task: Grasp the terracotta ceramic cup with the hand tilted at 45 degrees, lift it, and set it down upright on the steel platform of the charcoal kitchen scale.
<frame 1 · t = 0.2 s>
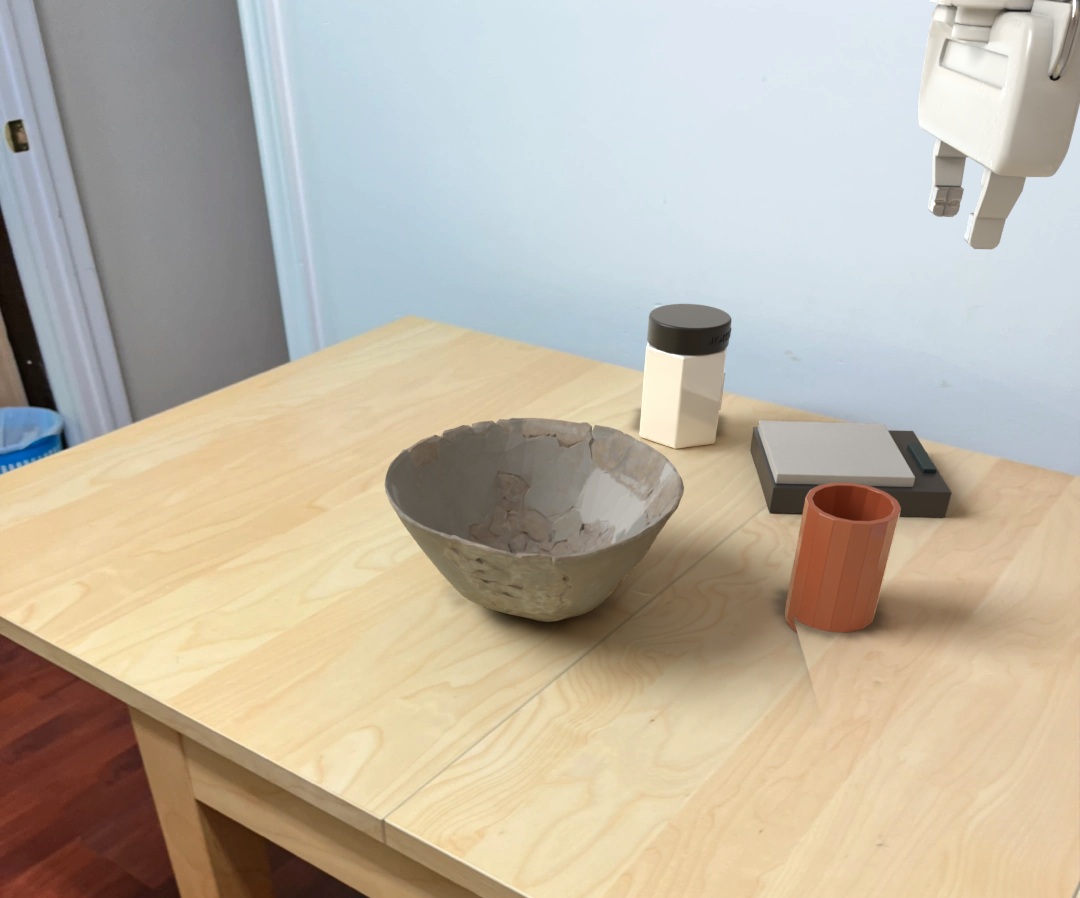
hand: (959, 230, 69), 27 cm above the table, tool pointing down, fingers open, 8 cm apart
kitchen scale: (842, 482, 100), on the table
ceramic bowl: (533, 593, 84), on the table
jar: (678, 434, 109), on the table
cup: (827, 620, 81), on the table
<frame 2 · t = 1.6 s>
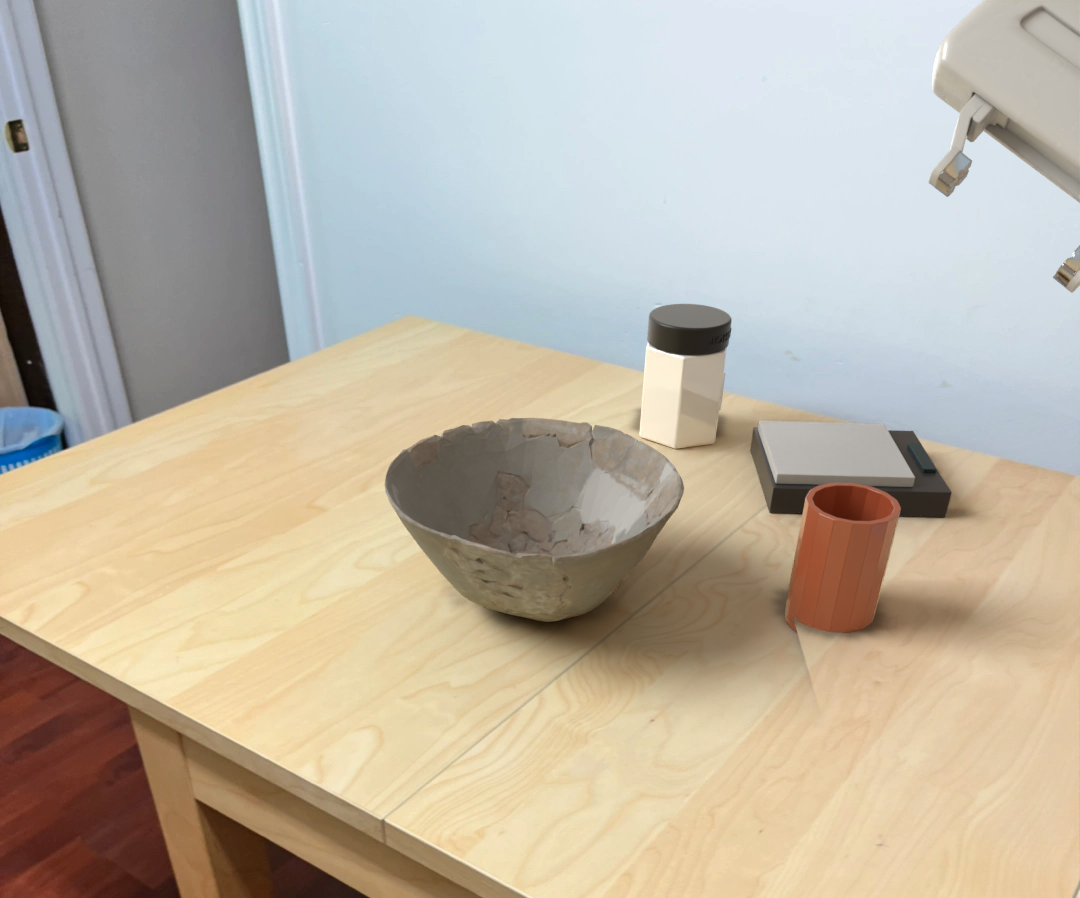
hand: (1000, 233, 61), 29 cm above the table, tool tilted 50°, fingers open, 8 cm apart
nothing on the table moved.
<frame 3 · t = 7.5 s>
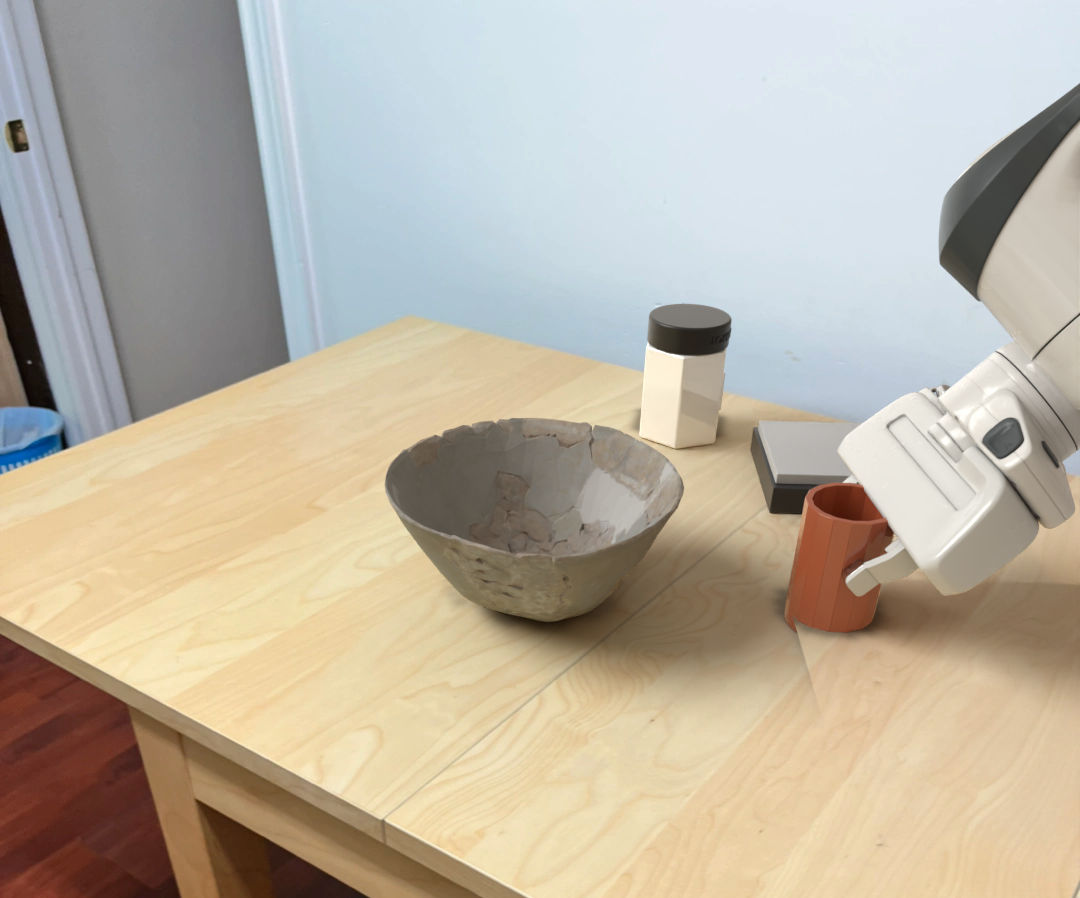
hand: (832, 559, 77), 5 cm above the table, tool tilted 45°, fingers closed on cup, 7 cm apart
cup: (827, 620, 81), on the table, touching gripper
everything else where it was.
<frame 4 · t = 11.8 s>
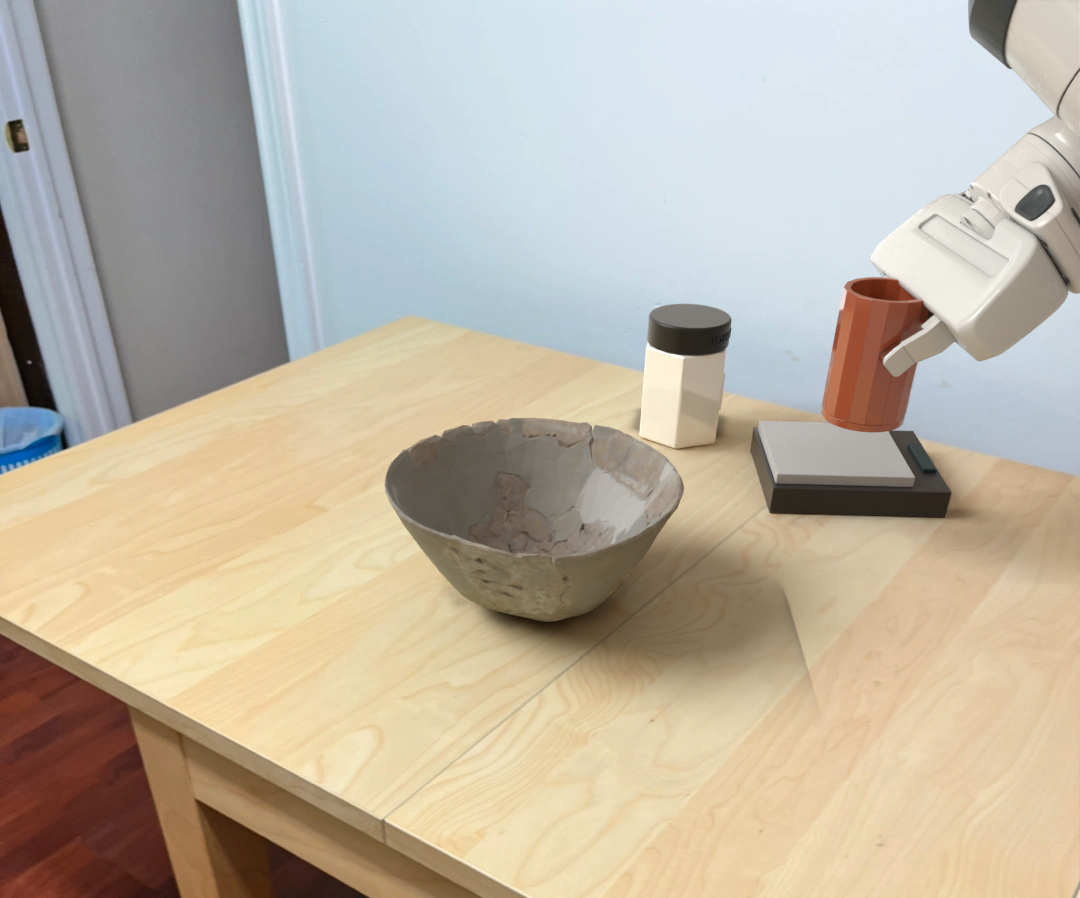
hand: (868, 350, 82), 16 cm above the table, tool tilted 45°, fingers closed on cup, 7 cm apart
cup: (862, 416, 85), point 11 cm above the table, touching gripper
everything else where it was.
when the fingers open (9 cm above the table, at t = 15.9 s): cup stays where it is, resting on kitchen scale.
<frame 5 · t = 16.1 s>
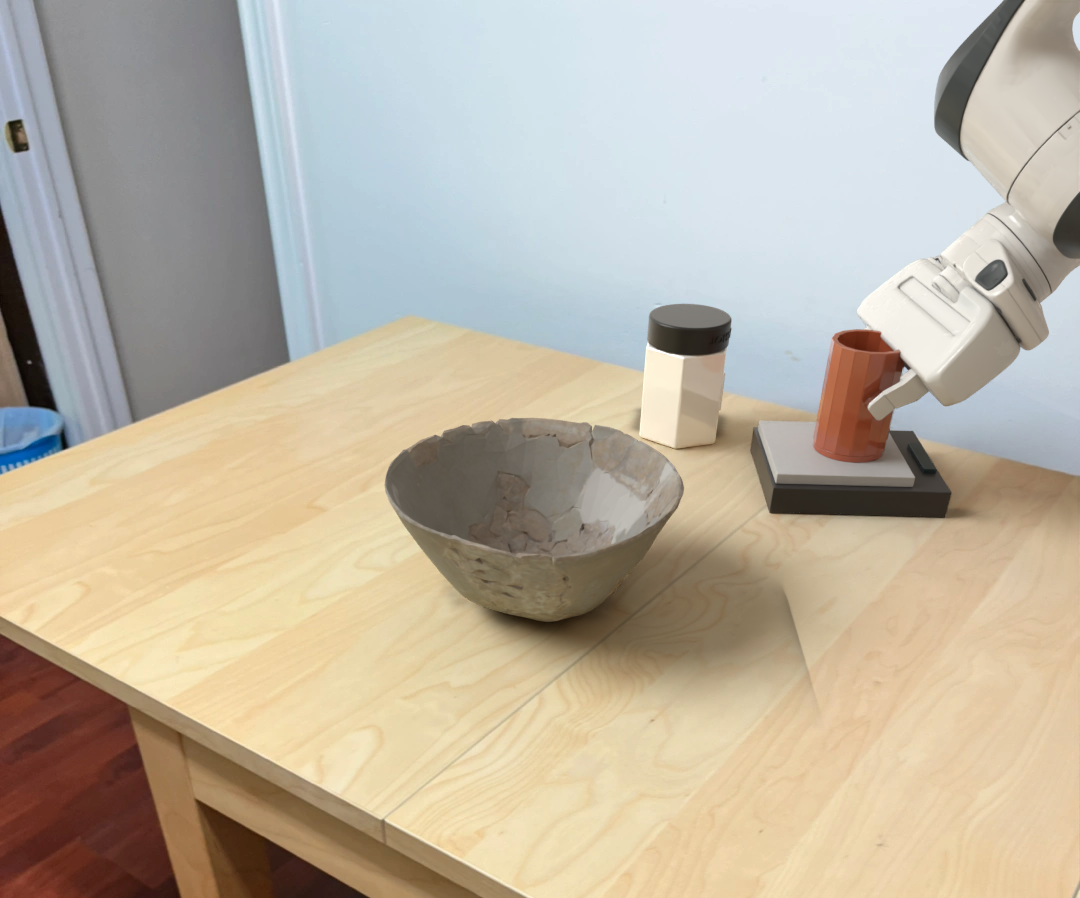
hand: (853, 393, 95), 9 cm above the table, tool tilted 45°, fingers open, 8 cm apart
cup: (848, 448, 98), point 4 cm above the table, touching kitchen scale
everything else where it was.
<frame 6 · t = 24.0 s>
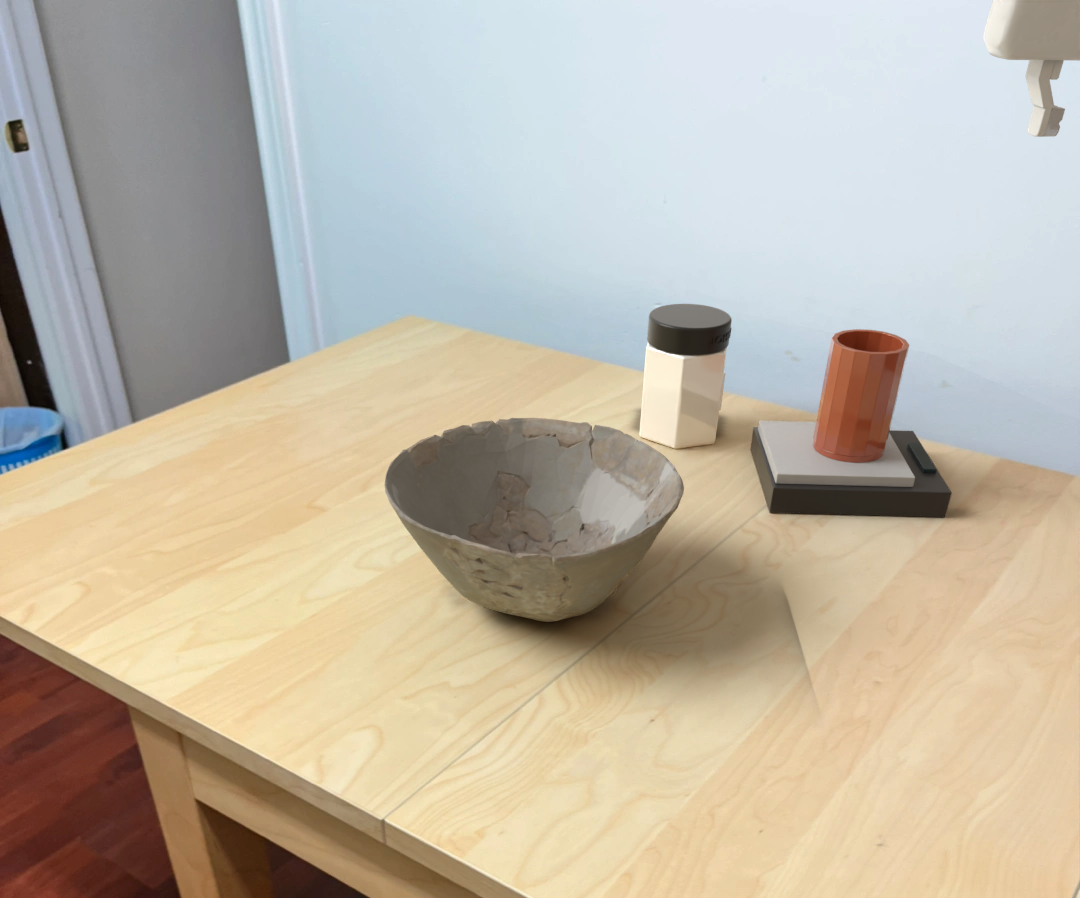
nothing on the table moved.
at the end: cup inside the target area on the kitchen scale (1.4 cm from its centre), point 3.5 cm above the kitchen scale's base; cup tilted 0°; the gripper is holding nothing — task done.
